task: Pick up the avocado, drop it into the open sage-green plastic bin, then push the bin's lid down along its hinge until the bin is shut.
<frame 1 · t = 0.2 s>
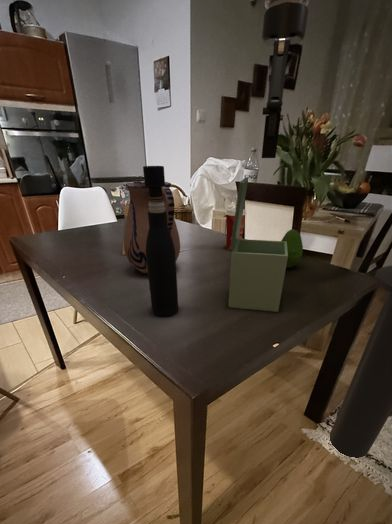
hand: (269, 157, 61), 31 cm above the table, tool pointing down, fingers open, 13 cm apart
bin: (254, 299, 74), on the table
avocado: (286, 267, 94), on the table
sandwich container: (136, 249, 113), on the table
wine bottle: (165, 311, 70), on the table
paper cup: (233, 249, 112), on the table
ceramic pitcher: (158, 271, 92), on the table
bin lid: (239, 213, 63), point 21 cm above the table, hinge at 85.0°
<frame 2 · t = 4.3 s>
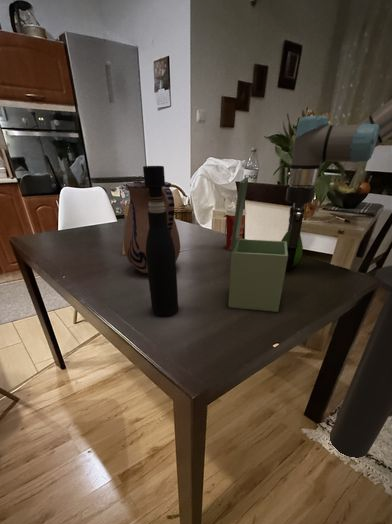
hand: (287, 265, 93), 1 cm above the table, tool pointing down, fingers closed on avocado, 8 cm apart
avocado: (286, 267, 94), on the table, touching gripper
everything else where it was.
when the fingers open (14 cm above the table, at t = 11.7 s): avocado stays where it is, resting on bin.
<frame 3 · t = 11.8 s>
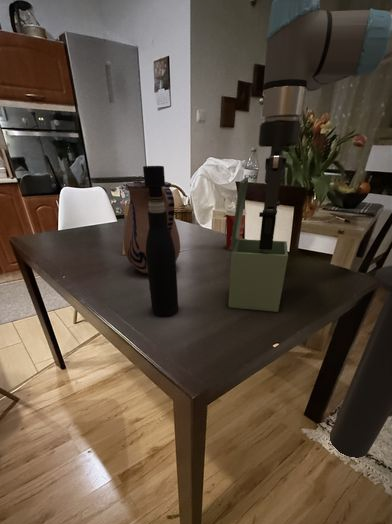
hand: (266, 241, 66), 15 cm above the table, tool pointing down, fingers open, 11 cm apart
avocado: (258, 298, 74), point 1 cm above the table, touching bin
everything else where it was.
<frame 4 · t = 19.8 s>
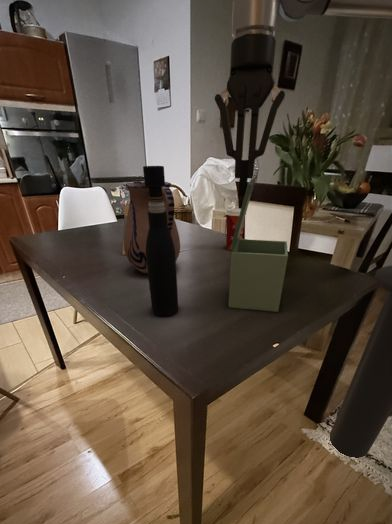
hand: (242, 195, 61), 24 cm above the table, tool pointing down, fingers closed
bin lid: (242, 214, 63), point 20 cm above the table, hinge at 77.8°, touching gripper
everything else where it was.
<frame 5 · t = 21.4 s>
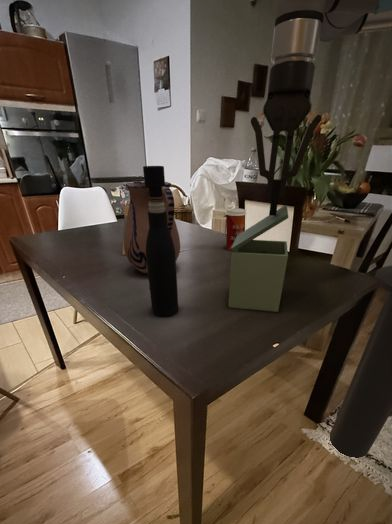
hand: (272, 214, 62), 21 cm above the table, tool pointing down, fingers closed
bin lid: (259, 227, 64), point 18 cm above the table, hinge at 34.2°, touching gripper
everything else where it was.
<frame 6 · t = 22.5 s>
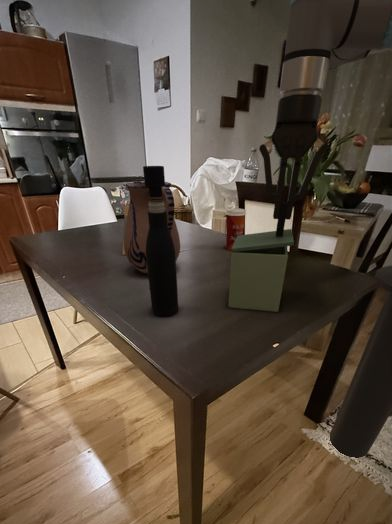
hand: (279, 234, 64), 16 cm above the table, tool pointing down, fingers closed
bin lid: (262, 240, 65), point 15 cm above the table, hinge at 9.3°, touching gripper
everything else where it was.
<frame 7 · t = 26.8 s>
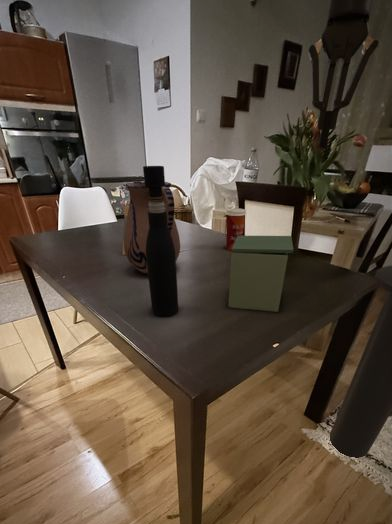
hand: (321, 147, 65), 32 cm above the table, tool pointing down, fingers closed
bin lid: (262, 243, 66), point 14 cm above the table, hinge at 2.2°
everything else where it was.
at the end: avocado inside the target area in the bin (1.1 cm from its centre), point 0.4 cm above the bin's base; bin lid at +2° (first picture: +85°) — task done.
